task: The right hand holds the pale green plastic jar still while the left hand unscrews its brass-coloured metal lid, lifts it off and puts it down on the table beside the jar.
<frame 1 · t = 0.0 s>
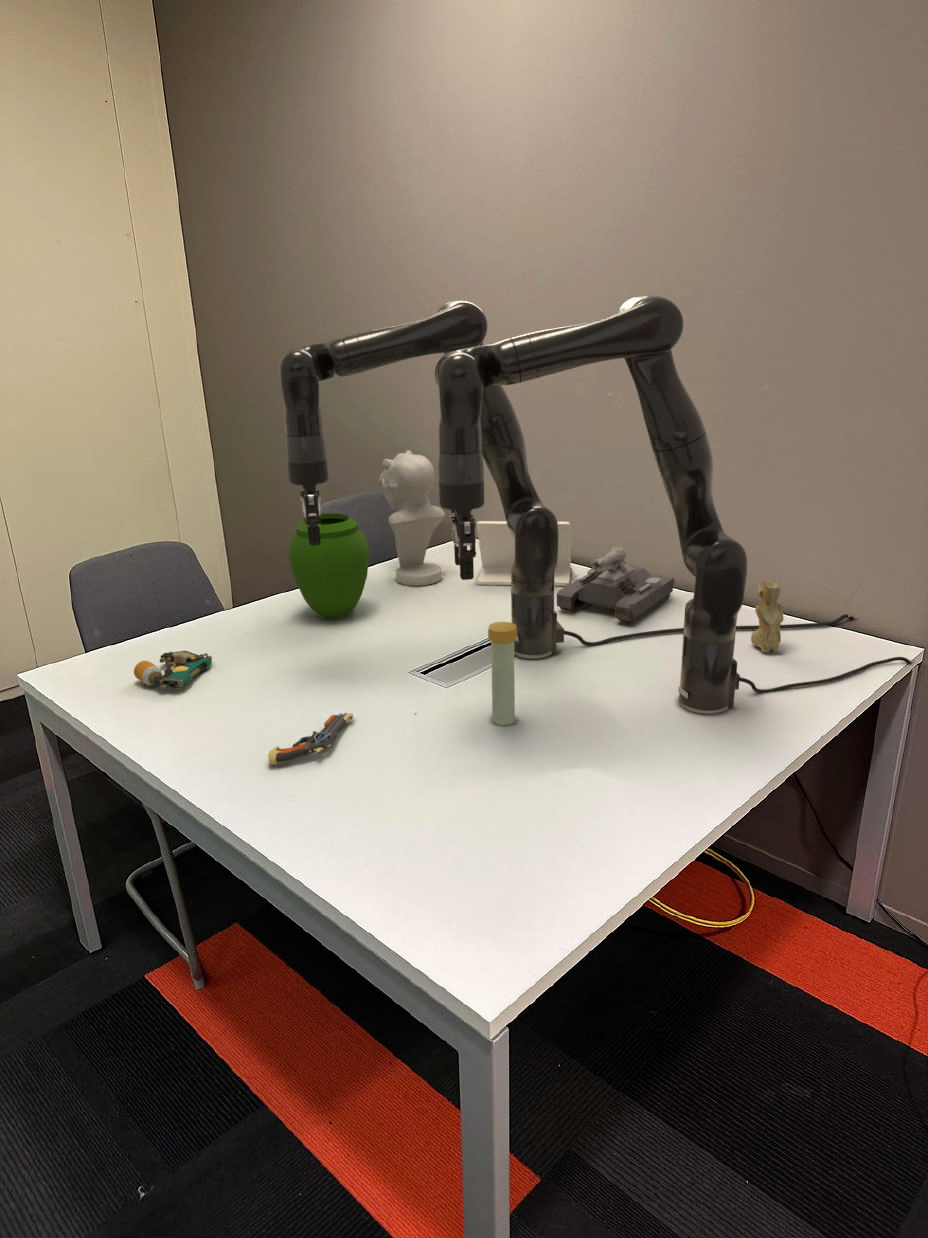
left hand: (314, 539, 170), 29 cm above the table, tool pointing down, fingers open, 8 cm apart
right hand: (464, 571, 147), 29 cm above the table, tool pointing down, fingers open, 8 cm apart
jar: (503, 720, 158), on the table
spray gun: (177, 676, 181), on the table
toy gun: (312, 743, 152), on the table
sculpture: (765, 649, 186), on the table
bust sculpture: (408, 577, 241), on the table
vase: (334, 614, 214), on the table
toy: (615, 605, 214), on the table
lid: (502, 628, 152), point 18 cm above the table, screwed on, not yet turned
tablet stand: (525, 575, 239), on the table
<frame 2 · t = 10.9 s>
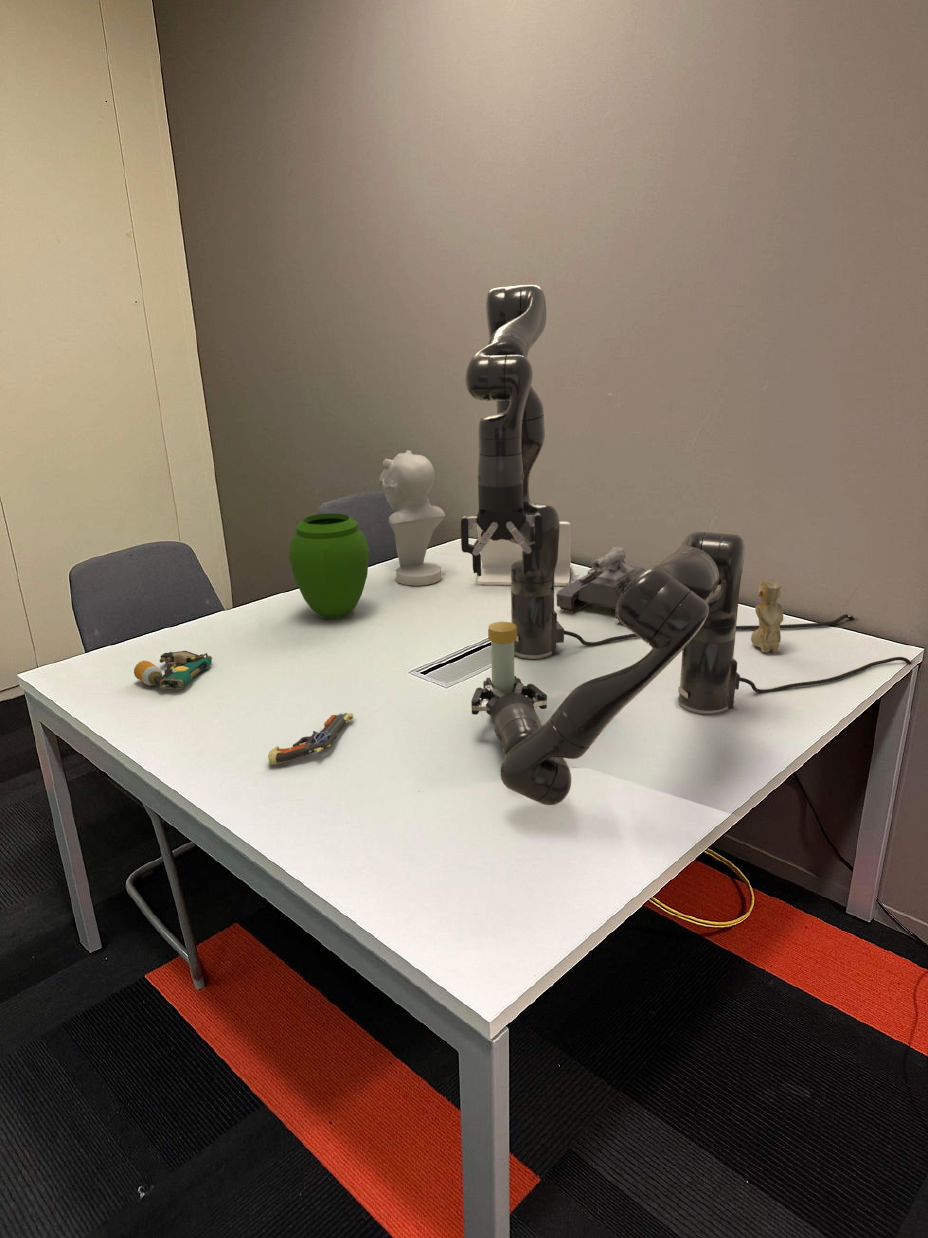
left hand: (501, 573, 148), 28 cm above the table, tool pointing down, fingers open, 7 cm apart
right hand: (500, 681, 158), 7 cm above the table, tool horizontal, fingers closed on jar, 4 cm apart
jar: (503, 720, 158), on the table, touching right hand
everything else where it was.
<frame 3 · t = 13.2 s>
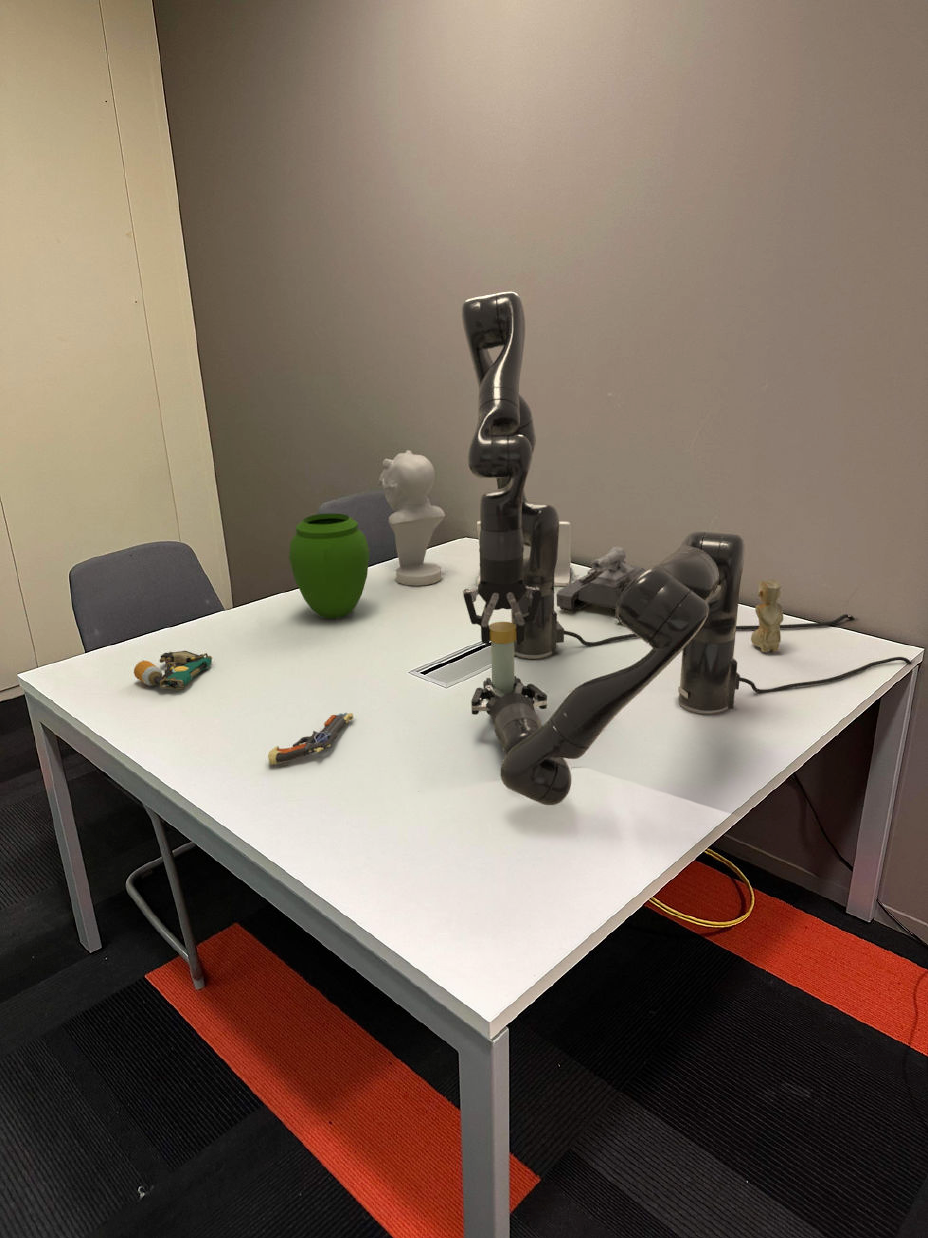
left hand: (502, 643, 153), 15 cm above the table, tool pointing down, fingers closed on lid, 5 cm apart
right hand: (500, 681, 158), 7 cm above the table, tool horizontal, fingers closed on jar, 4 cm apart
jar: (503, 720, 158), on the table, touching right hand
lid: (502, 628, 152), point 18 cm above the table, screwed on, not yet turned, touching left hand
everything else where it was.
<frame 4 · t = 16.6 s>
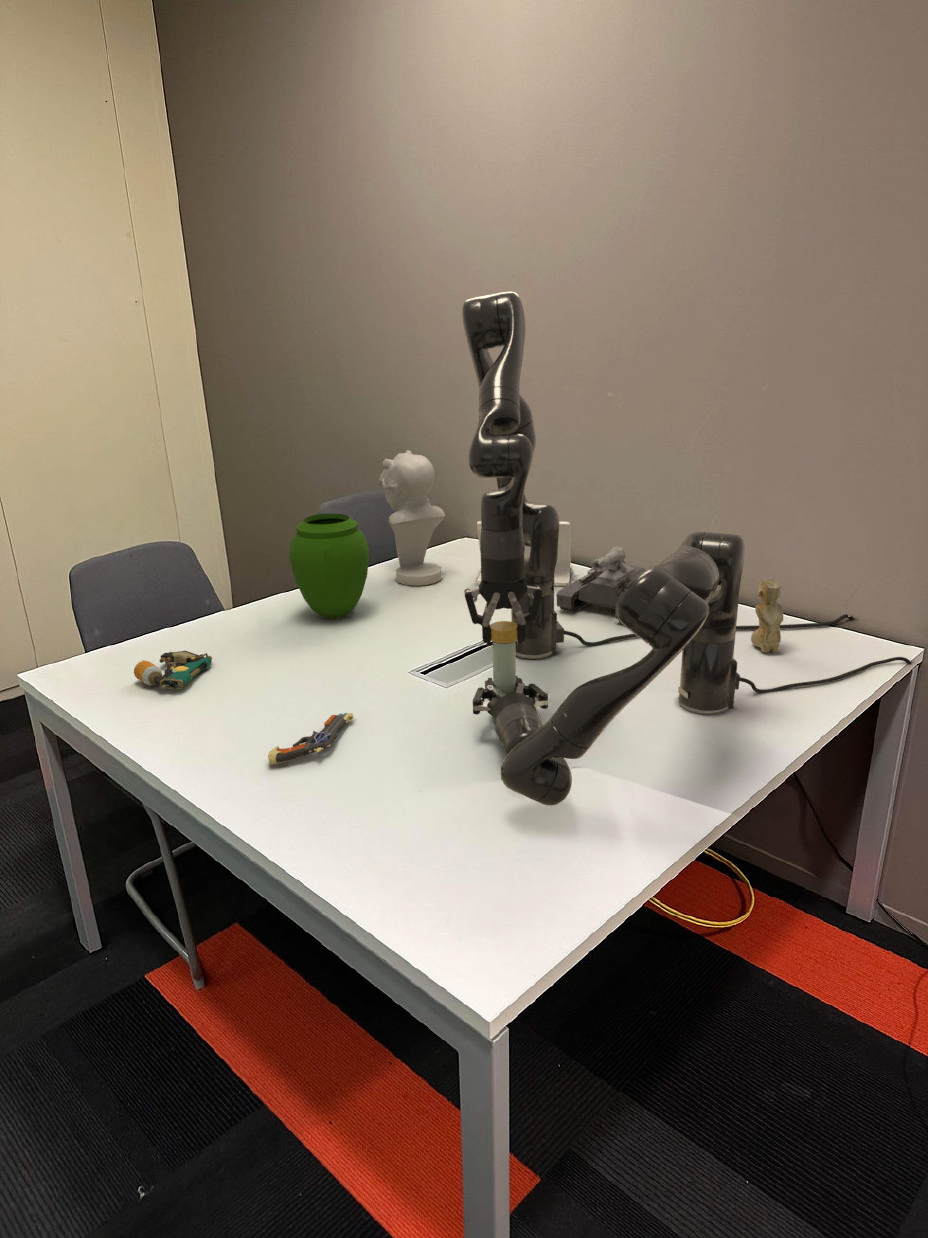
left hand: (503, 643, 153), 15 cm above the table, tool pointing down, fingers closed on lid, 5 cm apart
right hand: (502, 681, 158), 7 cm above the table, tool horizontal, fingers closed on jar, 4 cm apart
jar: (505, 720, 158), on the table, touching right hand
lid: (503, 627, 152), point 18 cm above the table, turned 71° so far, risen 0.1 cm, still on its thread, touching left hand
everything else where it was.
when the left hand's fingers open (0 cm above the table, at t = 33.2 s): lid drops 1 cm, point 2 cm above the table.
when the right hand's fingers open (7 cm above the table, at t = 34.3 s): jar stays where it is, on the table.
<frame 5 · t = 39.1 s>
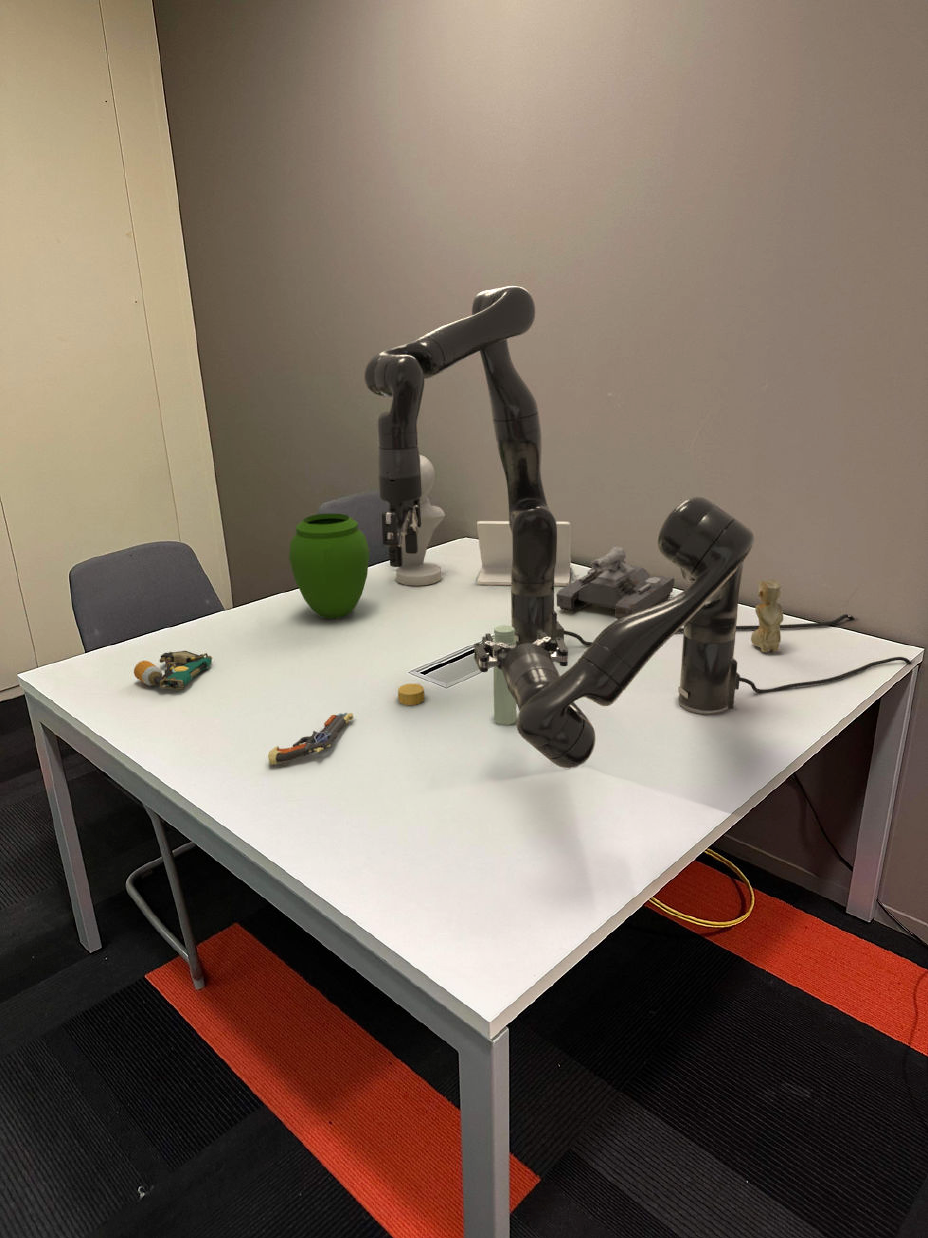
left hand: (404, 559, 157), 29 cm above the table, tool pointing down, fingers open, 8 cm apart
right hand: (513, 637, 140), 21 cm above the table, tool horizontal, fingers open, 8 cm apart
jar: (505, 719, 158), on the table
lid: (411, 690, 166), point 2 cm above the table, off its thread
everything else where it was.
at the end: lid came off its thread; lid point 2.0 cm above the table; the left hand is holding nothing; the right hand is holding nothing; jar tilted 0°; jar moved 0.4 cm from its start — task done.
